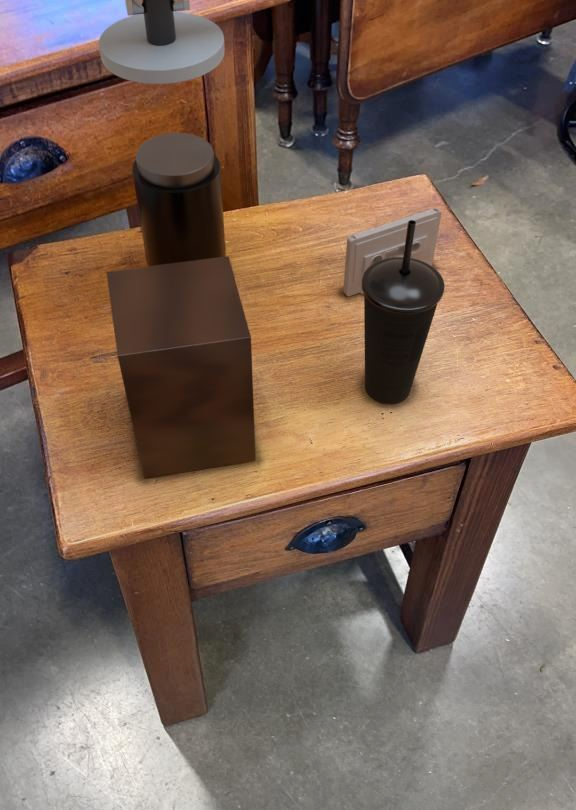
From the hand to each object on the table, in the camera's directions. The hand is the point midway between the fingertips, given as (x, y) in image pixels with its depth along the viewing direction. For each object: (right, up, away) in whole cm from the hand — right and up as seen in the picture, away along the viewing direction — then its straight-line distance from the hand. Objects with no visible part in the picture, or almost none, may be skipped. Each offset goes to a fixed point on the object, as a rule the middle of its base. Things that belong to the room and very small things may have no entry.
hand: (158, 10), depth 72 cm
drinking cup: (+22, -31, +15) cm, 41 cm away
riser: (+2, -35, +11) cm, 37 cm away
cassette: (+23, -17, +26) cm, 38 cm away
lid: (0, -2, +3) cm, 4 cm away
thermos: (0, -16, +26) cm, 30 cm away
